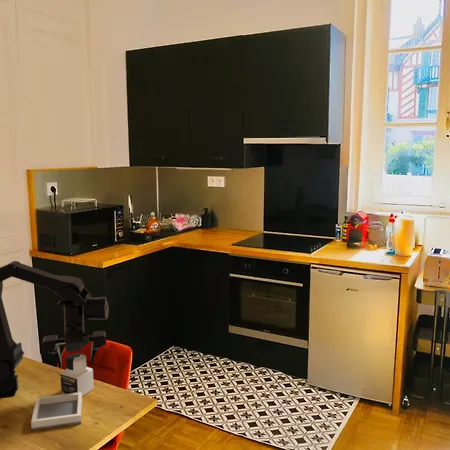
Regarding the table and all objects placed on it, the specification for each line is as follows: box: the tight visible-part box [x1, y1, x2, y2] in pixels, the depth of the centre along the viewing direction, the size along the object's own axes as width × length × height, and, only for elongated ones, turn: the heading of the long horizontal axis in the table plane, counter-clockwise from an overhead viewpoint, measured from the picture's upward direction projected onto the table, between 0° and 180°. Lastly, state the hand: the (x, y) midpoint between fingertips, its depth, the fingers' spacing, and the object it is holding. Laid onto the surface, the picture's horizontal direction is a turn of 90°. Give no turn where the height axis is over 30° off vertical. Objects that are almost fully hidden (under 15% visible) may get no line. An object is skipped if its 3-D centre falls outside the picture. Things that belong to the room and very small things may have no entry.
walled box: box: [30, 392, 83, 431], centre depth 140 cm, size 13×13×2 cm
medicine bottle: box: [59, 352, 95, 397], centre depth 152 cm, size 7×7×12 cm
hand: (76, 366), depth 151 cm, fingers open, 9 cm apart
